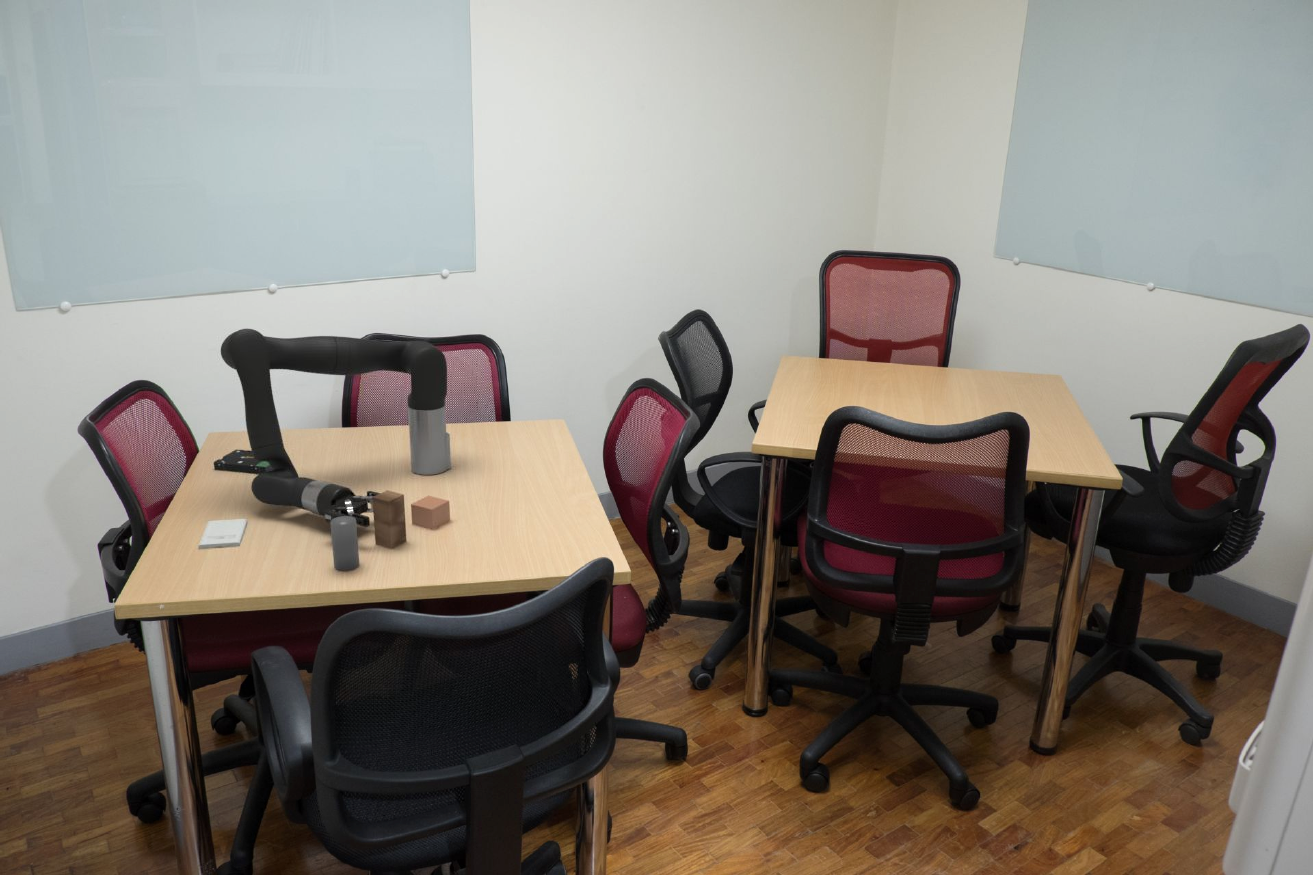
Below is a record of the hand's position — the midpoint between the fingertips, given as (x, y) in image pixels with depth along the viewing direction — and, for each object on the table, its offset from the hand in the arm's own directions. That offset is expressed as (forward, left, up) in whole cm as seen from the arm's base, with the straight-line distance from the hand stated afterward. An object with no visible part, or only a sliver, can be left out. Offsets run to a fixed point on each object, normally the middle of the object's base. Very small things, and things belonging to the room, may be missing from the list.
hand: (382, 515), depth 216 cm
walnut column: (-1, +2, -6) cm, 6 cm away
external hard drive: (+27, -23, -7) cm, 36 cm away
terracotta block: (-13, -4, -6) cm, 15 cm away
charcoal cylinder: (+11, +7, -6) cm, 14 cm away
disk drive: (+8, -62, -7) cm, 63 cm away
